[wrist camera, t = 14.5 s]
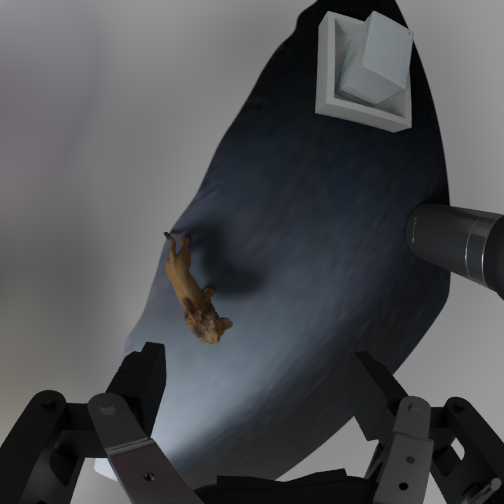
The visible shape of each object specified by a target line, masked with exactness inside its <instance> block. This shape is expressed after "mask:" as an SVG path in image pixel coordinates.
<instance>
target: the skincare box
mask: <svg viewBox="0 0 504 504" xmlns="http://www.w3.org/2000/svg"><path fill="white" fill-rule="evenodd" d="M412 43H413V32H412V31H410V30H409V29H407V28H405V27H404V26H402V25H400V24H398V23H397V22H395V21H393V20H391V19H389V18H388V17H386V16H384V15H382V14H380V13H378V12H376V11H373V12H372V14H371V15H370V16H369V17H368V18H367V20H366V21H365V22H364V23H363V24H362V26H361V27H360V28H359V29H358V31H357V32H356V33H355V34H354V36H353V37H352V38H351V39H350V40H349V42H348V44H347V48H346V52H345V55H344V59H343V63H342V66H341V70H340V73H339V77H338V80H337V84H336V87H335V90H334V92H335V93H337V94H340V95H342V96H344V97H347V98H349V99H351V100H353V101H355V102H357V103H359V104H361V105H364V106H367V107H371V108H373V107H374V106H376V105H377V104H379V103H381V102H383V101H384V100H386V99H388V98H390V97H392V96H394V95H396V94H398V93H400V92H402V91H404V90H406V87H407V80H408V73H409V67H410V59H411V51H412Z"/></svg>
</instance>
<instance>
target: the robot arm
mask: <svg viewBox="0 0 504 504" xmlns="http://www.w3.org/2000/svg"><path fill="white" fill-rule="evenodd" d="M406 240H407V243H408V246H409V248H410V250H411V252H412V253H413V254H414V255H416V256H417V257H419V258H422V259H424V260H426V261H429V262H431V263H433V264H435V265H438V266H440V267H442V268H445V269H447V270H449V271H451V272H454V273H456V274H458V275H460V276H463V277H465V278H467V279H469V280H472V281H474V282H476V283H478V284H480V285H482V286H484V287H487V288H489V289H491V290H493V291H495V292H497V294H498V295H499V296H500V297H501V298H502V299H503V300H504V215H503V214H497V213H490V212H484V211H479V210H472V209H466V208H459V207H452V206H446V205H439V204H431V203H424V204H421V205H419V206H418V207H417V208H416V209H415V210H414V211H413V212H412V214H411V215H410V217H409V220H408V223H407V227H406ZM165 386H166V358H165V346H164V344H160V343H153V342H146V343H145V345H144V347H143V349H142V351H141V352H136V351H133V352H132V353H130V354H129V355H128V356H126V357H125V359H124V360H123V362H122V364H121V366H120V367H119V369H118V372H116V374H115V376H114V378H113V379H112V381H111V383H110V385H109V387H108V388H107V390H106V392H105V393H100V394H97V395H95V396H93V397H92V398H91V399H90V400H89V402H88V403H86V404H85V403H84V404H81V403H67V402H66V400H65V398H64V396H63V395H62V394H61V393H59V392H57V391H53V390H45V391H41V392H39V393H37V394H36V395H34V397H33V398H32V399H31V401H30V402H29V404H28V405H27V407H26V408H25V410H24V411H23V412H22V414H21V416H20V417H19V419H18V420H17V422H16V423H15V425H14V426H13V428H12V430H11V431H10V433H9V434H8V436H7V437H6V439H5V441H4V442H3V444H2V446H1V447H0V504H70V502H71V499H72V496H73V492H74V489H75V486H76V483H77V479H78V477H79V474H80V471H81V468H82V465H83V462H84V460H85V457H87V458H107V459H108V461H109V463H110V465H111V467H112V469H113V471H114V473H115V475H116V477H117V479H118V481H119V482H120V484H121V486H122V488H123V489H124V491H125V493H126V494H127V496H128V498H129V499H130V502H131V503H132V504H423V501H424V497H425V492H426V488H427V483H428V477H429V472H430V473H431V474H432V476H433V478H434V480H435V482H436V484H437V485H438V487H439V489H440V491H441V493H442V495H443V497H444V499H445V501H446V503H447V504H504V443H503V442H502V441H501V439H500V438H499V437H498V435H497V434H496V433H495V432H494V431H493V429H492V428H491V427H490V426H489V425H488V424H487V422H486V421H485V420H484V419H483V418H482V416H481V415H480V414H479V413H478V412H477V411H476V410H475V408H474V407H473V406H472V405H471V404H470V403H469V402H468V401H467V400H465V399H463V398H460V397H451V398H449V399H448V400H447V402H446V403H445V405H444V407H430V405H429V403H428V402H427V401H425V400H424V399H422V398H420V397H416V396H408V394H407V393H406V392H405V390H404V389H403V388H402V387H401V385H400V384H399V383H398V382H397V380H395V378H394V377H393V375H392V374H391V373H390V372H389V370H388V369H387V368H386V367H385V366H384V365H382V364H381V363H379V362H378V361H375V360H374V359H373V357H372V356H371V355H370V354H369V353H368V352H367V351H364V352H351V353H350V355H349V357H348V360H347V364H346V367H345V370H344V373H343V377H342V380H341V390H342V393H343V395H344V397H345V399H346V401H347V403H348V405H349V407H350V408H351V410H352V412H353V414H354V416H355V418H356V420H357V422H358V424H359V426H360V428H361V430H362V432H363V434H364V436H365V438H366V440H367V441H371V440H376V439H378V440H379V443H378V445H377V447H376V449H375V452H374V454H373V457H372V460H371V462H370V465H369V467H368V469H367V472H366V474H365V476H364V478H361V477H355V476H347V474H346V471H345V469H344V468H343V469H338V470H331V471H324V472H316V473H313V474H310V475H307V476H304V477H301V478H297V479H294V480H290V481H287V482H281V481H274V480H267V479H261V478H255V477H243V476H217V483H216V484H209V485H205V486H201V487H198V488H195V489H193V490H192V489H191V488H190V487H189V485H188V484H187V483H186V482H185V481H184V479H183V478H182V477H181V476H180V474H179V473H178V472H177V470H176V469H175V468H174V467H173V465H172V464H171V463H170V461H169V460H168V459H167V457H166V456H165V455H164V453H163V452H162V450H161V449H160V448H159V446H158V445H157V443H156V442H155V441H154V440H153V439H152V438H150V437H151V434H152V430H153V427H154V423H155V420H156V416H157V413H158V409H159V406H160V403H161V399H162V396H163V393H164V389H165ZM455 438H457V439H458V441H459V442H460V443H461V445H462V446H463V447H464V451H465V454H464V457H463V459H462V460H460V458H459V457H458V455H457V454H456V452H455V451H454V449H453V448H452V446H451V444H452V442H453V441H454V439H455Z"/></svg>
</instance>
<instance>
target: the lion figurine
mask: <svg viewBox="0 0 504 504" xmlns="http://www.w3.org/2000/svg"><path fill="white" fill-rule="evenodd" d="M164 235H165V236H166V238H167V239H168V240H170V241H171V242H172V245H171V250H170V258H168V260H167V261H166V265H165V267H166V272H167V275H168V277H169V279H170V281H171V282H172V284H173V286H174V289H175V292H176V294H177V297H178V299H179V301H180V303H181V305H182V306H183V308H184V313H185V316H184V317H185V322H186V324H187V325H188V326H189V327H190V328H191V331H192V332H193V334H194V335H196V337H197V338H199V339H200V340H201V341H202V342H203V343H208V344H215V343H216V344H218V345H219V343H218V342H219V341H220V337H221V335H223V334H224V331H225V330H226V329H229V328H231V327H232V326H233V323H232V321H230V319H229V318H219V315H218V313H217V312H215V308H214V307H213V305H212V304H211V296H212V295H213V294H214V289H212V288H209V287H208V288H205V289H204V292H201V289H200V288H199V286H198V284H197V282H196V280H195V279H194V277H193V276H192V275H191V274H190V272H189V268H190V264H191V254H190V250H189V248H188V244H189V242H190V239H189V237H188V236H182V237H181V238H180V243H181V245H182V251H181V252H180V253H179V254H178V255H177V254H176V252H175V248H176V243H175V240H174V239H173V238H172V237H171V235H170V234H169V233H168V232H164Z"/></svg>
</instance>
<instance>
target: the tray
mask: <svg viewBox="0 0 504 504" xmlns="http://www.w3.org/2000/svg"><path fill="white" fill-rule="evenodd" d="M363 23H364V22H363V21H360V20H357V19H354V18H351V17H347V16H344V15H341V14H337V13H333V12H329V11H328V12H327V13H326V15H325V17H324V18H323V20H322V22H321V24H320V25H319V36H318V69H317V90H316V108H315V113H317V114H323V115H327V116H332V117H337V118H341V119H346V120H350V121H354V122H358V123H362V124H366V125H370V126H373V127H377V128H380V129H384V130H387V131H391V132H397V131H400V130H404V129H407V128H410V127H411V88H410V73H408V80H407V87H406V90H404V91H402V92H400V93H398V94H396V95H394V96H392V97H390V98H388V99H386V100H384V101H383V102H381V103H379V104H377V105H376V106H374V107H373V108H371V107H367V106H364V105H361V104H359V103H357V102H355V101H353V100H351V99H349V98H347V97H344V96H342V95H340V94H337V93H335V92H334V90H335V87H336V84H337V80H338V77H339V73H340V70H341V66H342V63H343V59H344V55H345V52H346V48H347V44H348V42H349V40H350V39H351V38H352V37H353V36H354V34H355V33H356V32H357V31H358V29H359V28H360V27H361V26H362V24H363Z"/></svg>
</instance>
